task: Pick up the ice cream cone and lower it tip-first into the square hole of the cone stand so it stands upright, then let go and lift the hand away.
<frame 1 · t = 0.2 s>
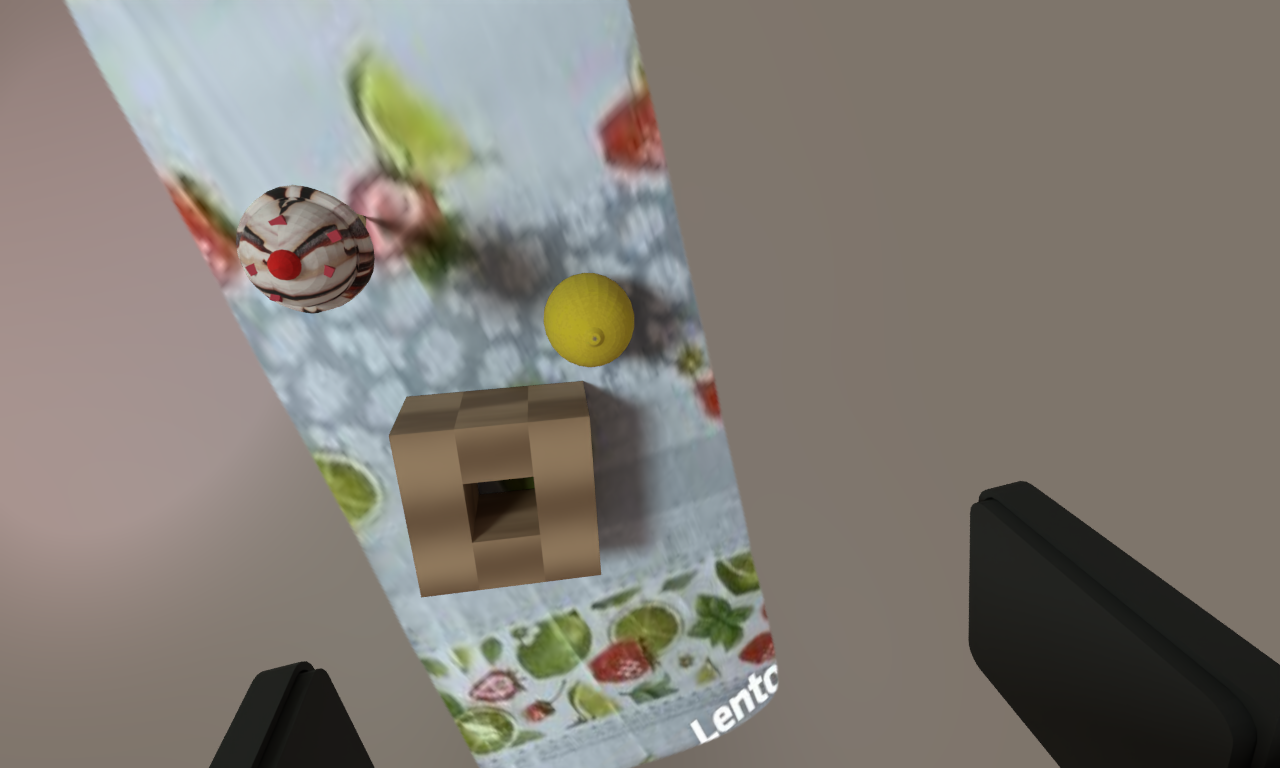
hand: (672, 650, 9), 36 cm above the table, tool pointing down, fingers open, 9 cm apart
cone stand: (506, 465, 48), on the table
lemon: (584, 301, 44), on the table
ice cream cone: (365, 216, 40), on the table
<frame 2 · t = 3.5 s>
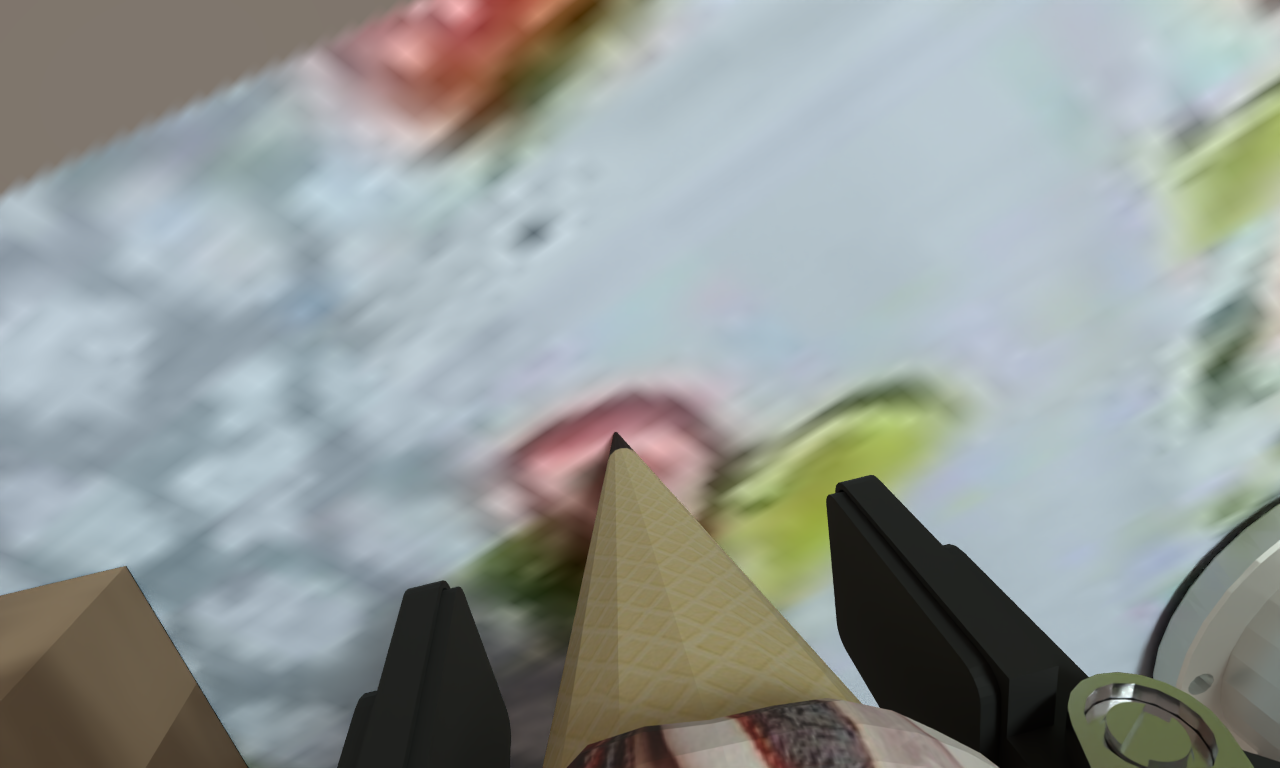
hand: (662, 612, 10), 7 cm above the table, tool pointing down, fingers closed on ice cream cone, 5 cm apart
ice cream cone: (615, 427, 16), on the table, touching gripper
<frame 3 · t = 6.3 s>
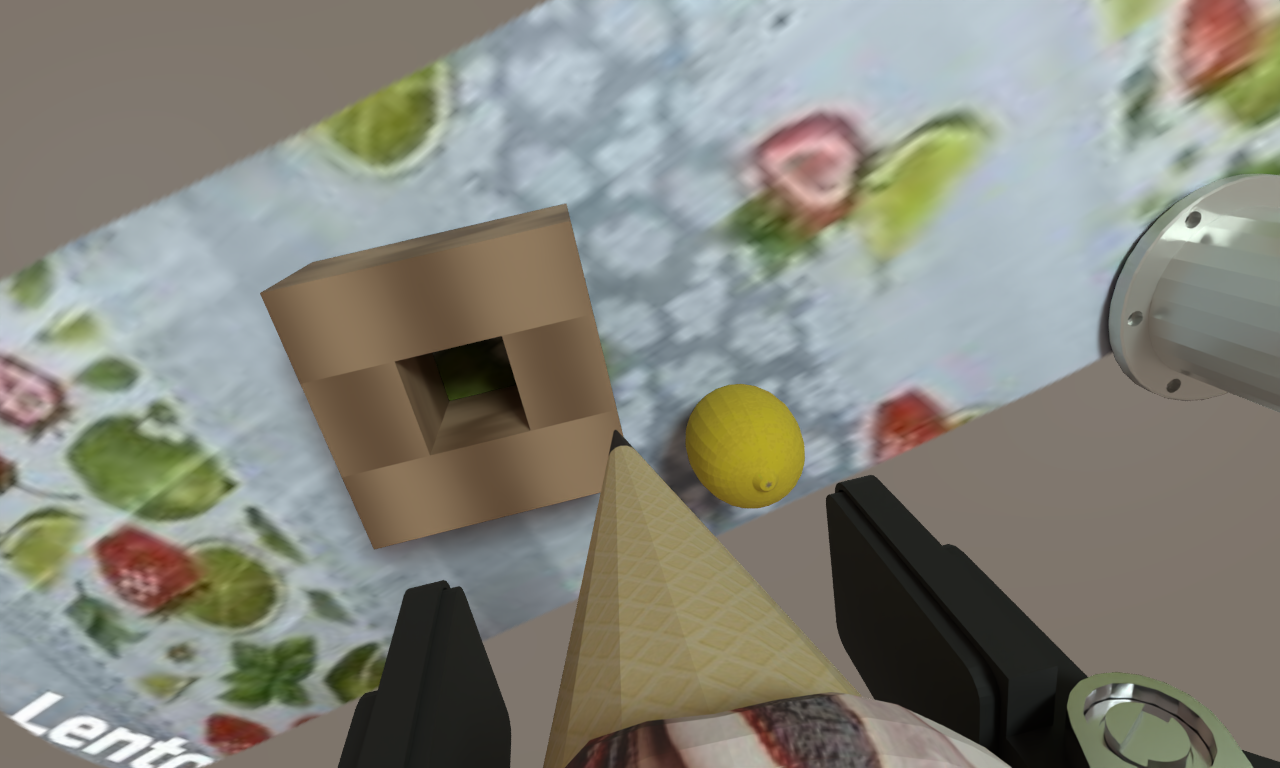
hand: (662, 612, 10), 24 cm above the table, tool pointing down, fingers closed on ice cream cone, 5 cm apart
cone stand: (478, 351, 33), on the table
lemon: (722, 409, 36), on the table
ice cream cone: (614, 424, 16), point 17 cm above the table, touching gripper
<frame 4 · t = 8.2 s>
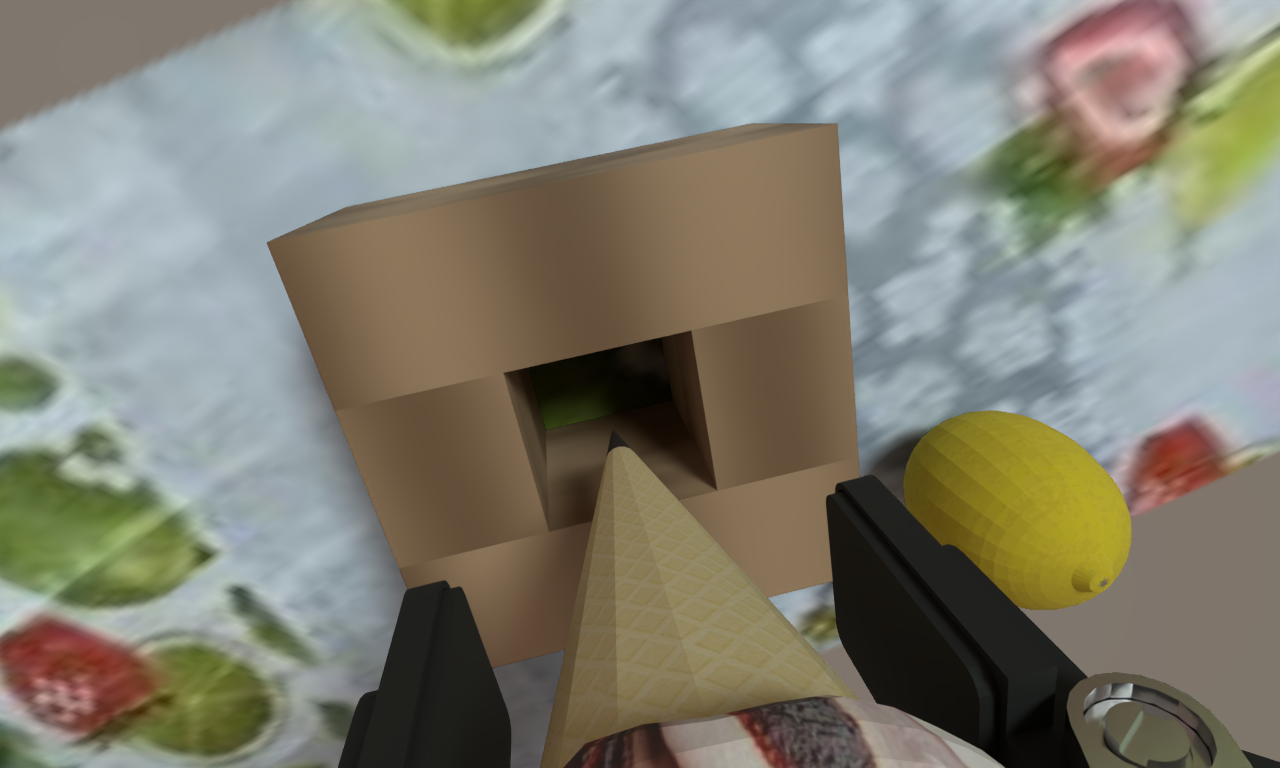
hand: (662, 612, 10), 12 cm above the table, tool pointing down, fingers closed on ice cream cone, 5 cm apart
cone stand: (596, 355, 21), on the table
lemon: (931, 443, 25), on the table
ice cream cone: (612, 425, 16), point 6 cm above the table, touching gripper
when the fingers open (8 cm above the table, at t = 9.5 s): ice cream cone drops 1 cm, on the table.
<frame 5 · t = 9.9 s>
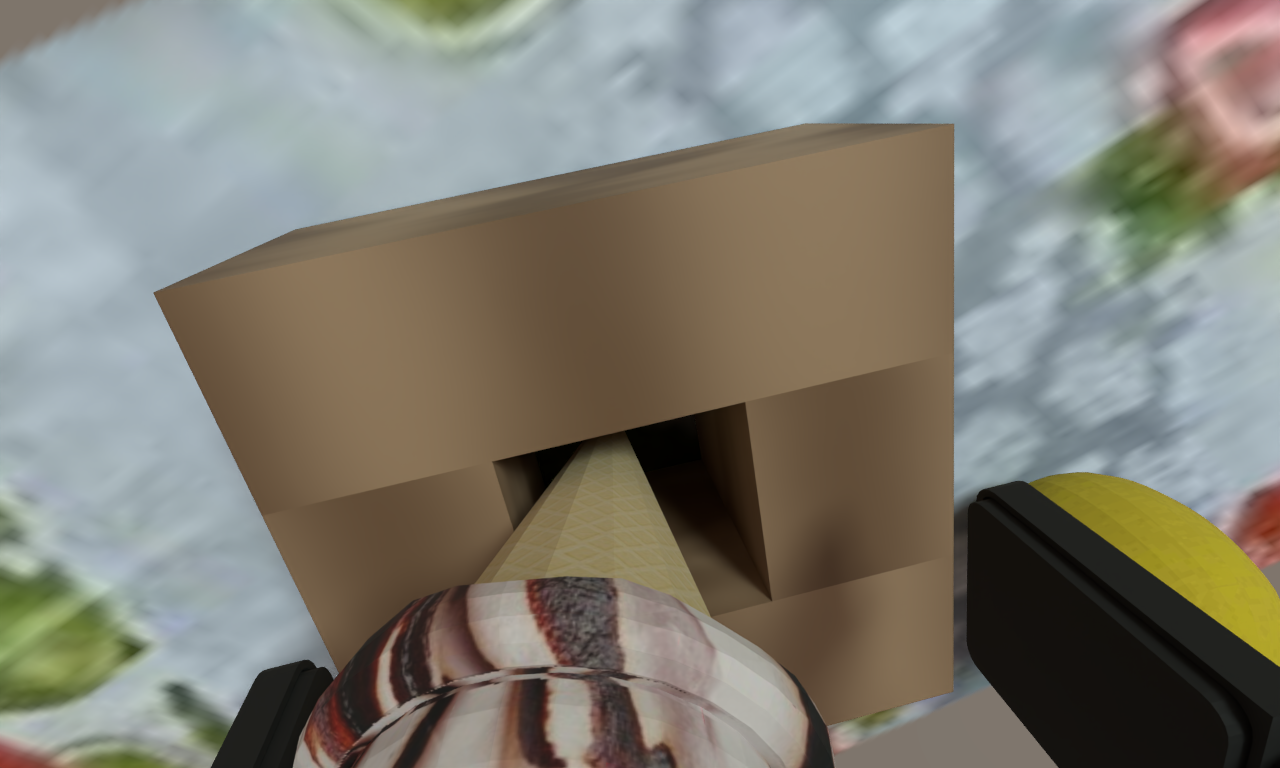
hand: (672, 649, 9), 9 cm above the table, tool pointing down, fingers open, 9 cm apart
cone stand: (609, 406, 18), on the table
lemon: (1004, 503, 21), on the table
ice cream cone: (611, 400, 18), on the table, touching gripper
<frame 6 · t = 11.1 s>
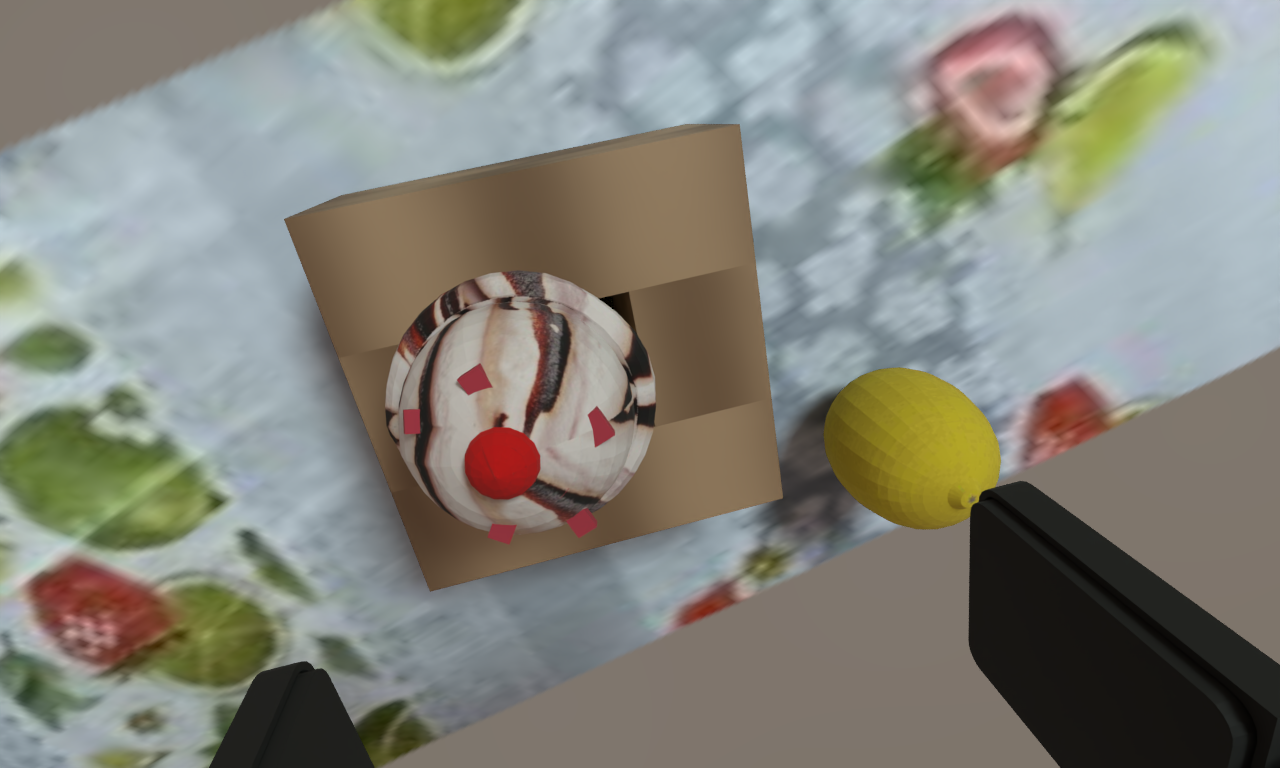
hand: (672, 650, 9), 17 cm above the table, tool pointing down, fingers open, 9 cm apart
cone stand: (558, 323, 25), on the table
lemon: (852, 401, 29), on the table
ice cream cone: (559, 319, 25), on the table, touching cone stand
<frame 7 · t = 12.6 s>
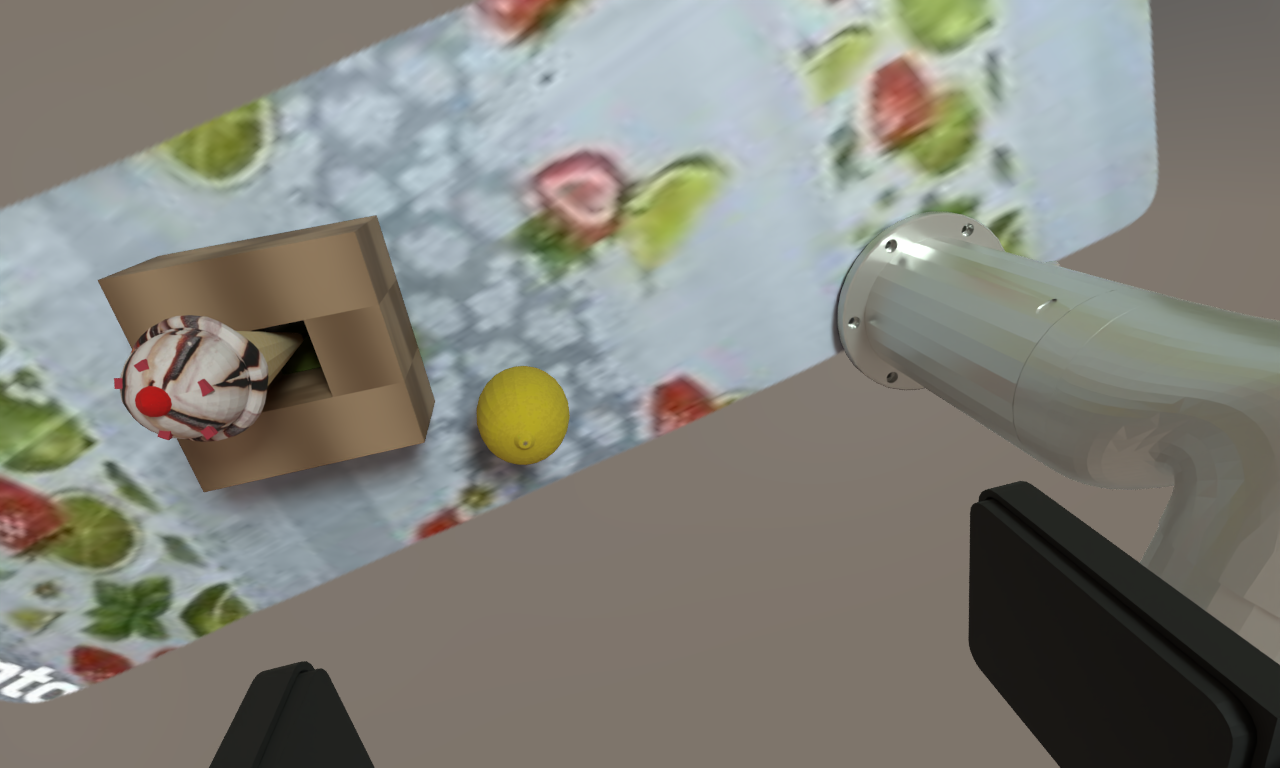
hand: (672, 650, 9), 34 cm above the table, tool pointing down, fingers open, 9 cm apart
cone stand: (307, 334, 40), on the table
lemon: (522, 388, 44), on the table
ice cream cone: (309, 331, 40), on the table, touching cone stand
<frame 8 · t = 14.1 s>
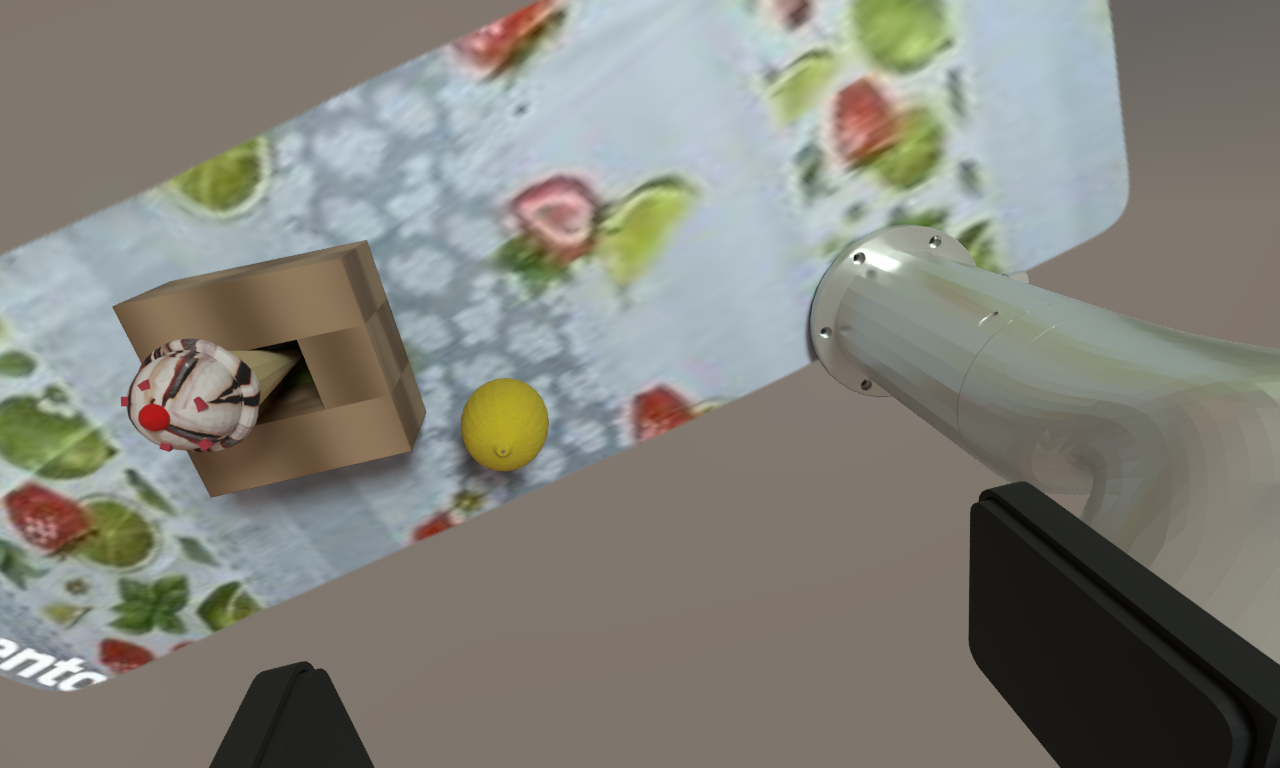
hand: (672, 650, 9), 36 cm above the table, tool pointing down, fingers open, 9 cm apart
cone stand: (306, 350, 43), on the table
lemon: (507, 398, 46), on the table
ice cream cone: (308, 348, 43), on the table, touching cone stand
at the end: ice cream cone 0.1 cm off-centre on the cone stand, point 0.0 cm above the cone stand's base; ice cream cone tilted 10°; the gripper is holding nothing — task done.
